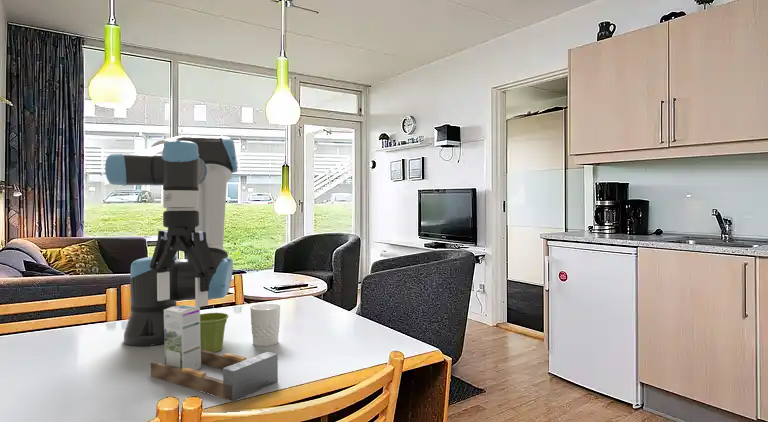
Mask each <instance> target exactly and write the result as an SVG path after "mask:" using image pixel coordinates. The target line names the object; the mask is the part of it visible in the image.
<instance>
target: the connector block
mask: <svg viewBox="0 0 768 422" xmlns="http://www.w3.org/2000/svg"><path fill="white" fill-rule="evenodd" d="M278 357H279V356H278V353H275V352H270V351H266V352H263V353H260V354H257V355H255V356H252V357H250V358H249V357H248V358H247V359H246V360H244V361H241V362H238V363H236V364H233V365H230V366H228V367H225V368H223V369H222V380H223V384H227V385H230V386H232V387H231V389H232V394H231V396H232V398H231V400H230V402H237V401H240V400H241V399H244V398H245V397H248V396H250V395H253V394H254V393H256V392H258V391H261V390H263V389H264V388H265V389H266V388H267V387H269V386H271V385H274V384H276V383H278V380H279V379H278V377H279V373H278V371H279V370H278V369H279V367H278V365H279V364H278V362H279V361H278V360H279V359H278ZM230 386H229V388H230ZM223 387H224V386H223ZM225 387H226V386H225ZM227 388H228V387H227ZM229 388H228V390H229ZM223 389H225V388H223ZM231 389H230V390H231ZM225 390H226V389H225ZM223 392H224V390H223ZM227 392H228V391H226V393H227ZM224 396H226V395H223V397H224ZM227 396H228V395H227ZM227 396H226V397H227ZM229 398H230V397H229V396H228V399H229ZM222 399H223V400H225V399H224V398H222Z"/></svg>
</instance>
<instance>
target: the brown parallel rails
mask: <svg viewBox="0 0 768 422" xmlns="http://www.w3.org/2000/svg"><path fill="white" fill-rule="evenodd" d="M246 359H248V357H246V356H242V355H239V354H234V353H229V352H227V353H224V354H223V353H217V352H211V351H206V350H202V349H201V365H205V366H208V365H209V367H212V366H213V368H217V369H219V370H223V368H225V367H228V366H230V365H233V364H236V363H238V362H241V361H244V360H246ZM150 377H153V378H156V379H159V380H162V381H166V382H168V383H171V384H175V385H178V386H181V387H185V388H188V389H191V390H194V391H197V390H198V391H197V392H201V391H202V392H201V393H204V392H205V394H207V393H209V394H208V395H210V394H212V395H211V396H213V395H214V396H213V397H217V398H220V399H223V398H224V399H223V400H227V401H230V400H231V398H232V396H231V394H232V389H231V387H232V386H230V385H227V384H223V379H218V378H215V377H212V376H208V375H207V372H205V371H201V370H199V369H198V370H195V369H191V368H188V367H186V368H184V369H180V368H177V367H173V366H170V365H166V364H165V363H162V362H160V361H159V362H158V361H156V360H154V361H151V362H150ZM223 386H224V387H223ZM225 386H226V387H225ZM229 386H230V388H229ZM227 387H228V388H229V390H228V388H227ZM223 388H225V389H226V390H225V389H223ZM230 389H231V390H230ZM223 390H224V392H223ZM226 391H228V392H227V393H226ZM223 395H226V396H227V395H228V396H229V397H230V398H229V399H228V396H227V397H226V396H224V397H223ZM230 402H231V401H230Z"/></svg>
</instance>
